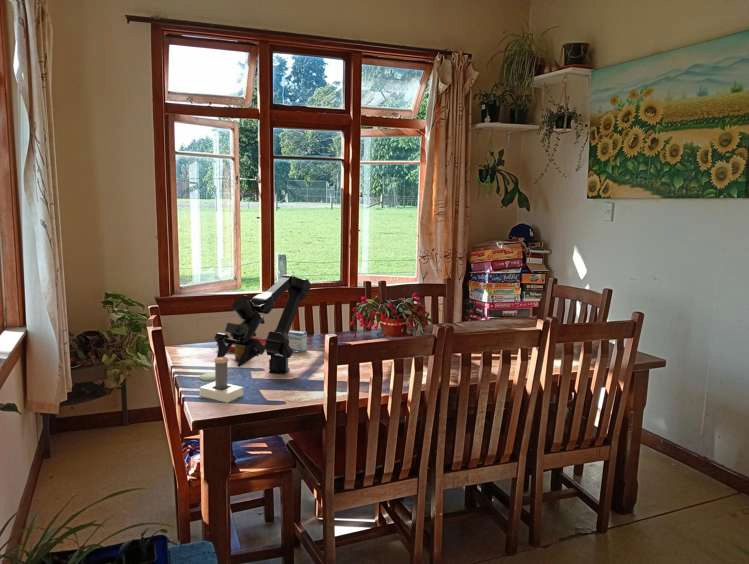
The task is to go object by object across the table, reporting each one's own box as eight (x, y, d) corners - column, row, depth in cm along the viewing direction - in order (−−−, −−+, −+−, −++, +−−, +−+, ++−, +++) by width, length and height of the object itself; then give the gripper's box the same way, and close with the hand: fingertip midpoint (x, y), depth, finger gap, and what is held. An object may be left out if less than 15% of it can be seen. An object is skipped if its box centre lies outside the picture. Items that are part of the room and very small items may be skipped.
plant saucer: (273, 346, 267) (273, 339, 266) (251, 356, 250) (251, 349, 250) (238, 341, 273) (238, 334, 272) (215, 351, 256) (215, 343, 256)
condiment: (246, 356, 249) (246, 328, 248) (256, 360, 243) (256, 332, 241) (230, 358, 245) (230, 330, 243) (239, 363, 238) (239, 334, 237)
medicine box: (285, 351, 259) (286, 331, 258) (290, 348, 263) (290, 329, 262) (302, 353, 257) (302, 333, 255) (306, 350, 261) (307, 331, 260)
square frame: (215, 389, 207) (215, 380, 207) (243, 395, 202) (243, 387, 202) (199, 395, 200) (199, 387, 200) (227, 402, 195) (227, 393, 194)
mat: (225, 374, 223) (225, 373, 223) (216, 381, 215) (216, 380, 215) (205, 373, 224) (205, 372, 224) (195, 379, 217) (195, 378, 217)
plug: (230, 394, 203) (230, 357, 201) (224, 398, 199) (224, 361, 197) (218, 393, 204) (217, 356, 202) (212, 397, 199) (212, 360, 197)
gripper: (217, 310, 209) (195, 347, 201) (260, 317, 201) (238, 355, 192) (232, 328, 217) (211, 364, 209) (273, 335, 209) (253, 373, 200)
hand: (227, 364), depth 202 cm, fingers open, 9 cm apart
